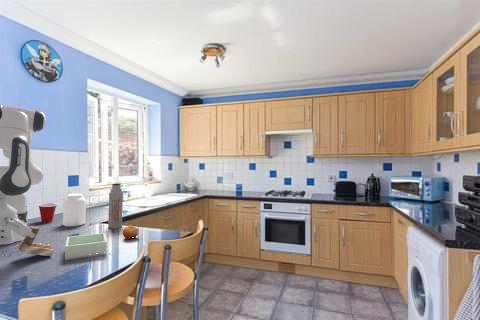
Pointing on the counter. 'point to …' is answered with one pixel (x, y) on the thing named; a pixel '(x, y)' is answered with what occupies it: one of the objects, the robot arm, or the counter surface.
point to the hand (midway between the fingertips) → (32, 235)
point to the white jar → (74, 210)
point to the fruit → (130, 232)
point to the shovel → (33, 245)
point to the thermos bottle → (115, 207)
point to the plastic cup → (47, 211)
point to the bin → (85, 246)
